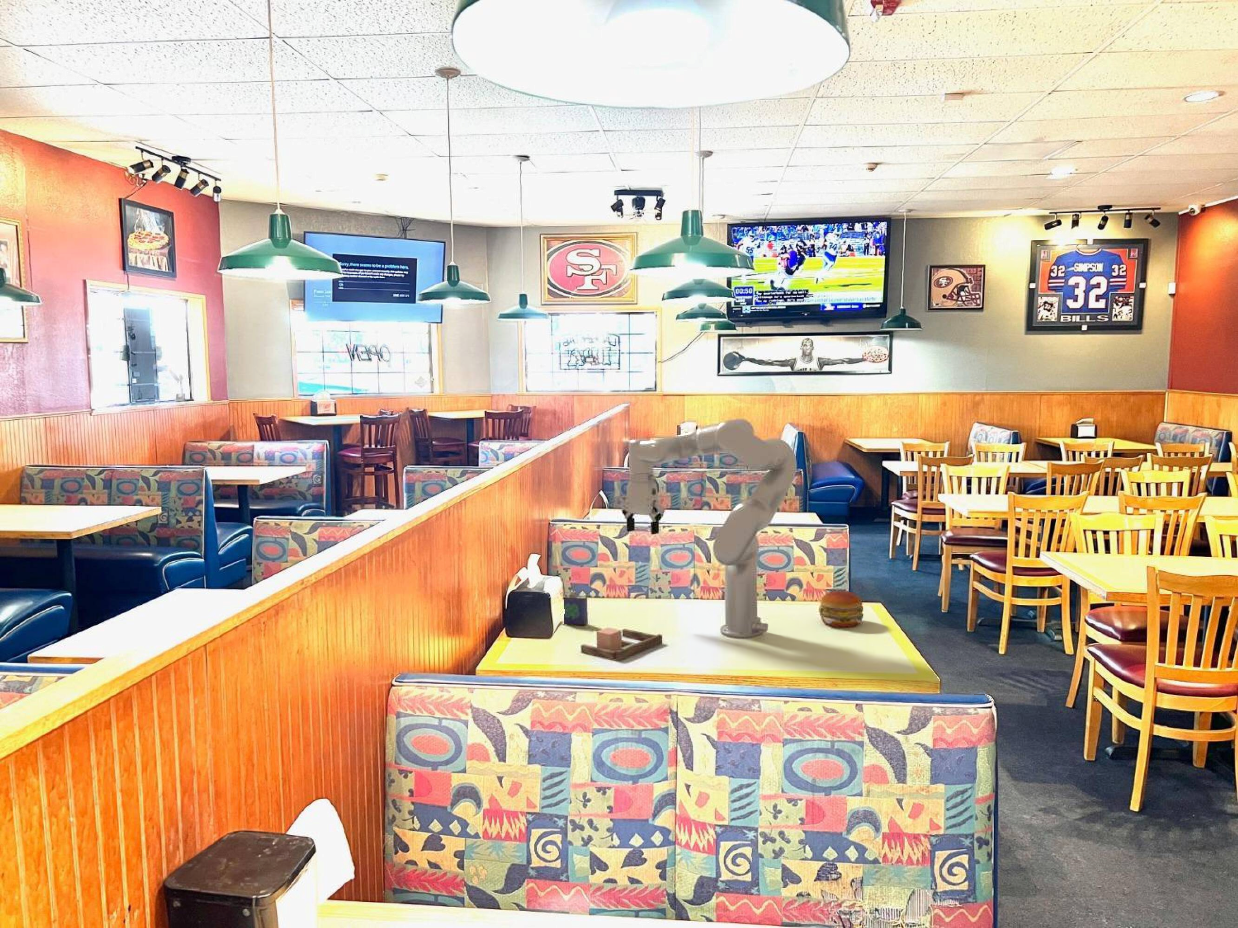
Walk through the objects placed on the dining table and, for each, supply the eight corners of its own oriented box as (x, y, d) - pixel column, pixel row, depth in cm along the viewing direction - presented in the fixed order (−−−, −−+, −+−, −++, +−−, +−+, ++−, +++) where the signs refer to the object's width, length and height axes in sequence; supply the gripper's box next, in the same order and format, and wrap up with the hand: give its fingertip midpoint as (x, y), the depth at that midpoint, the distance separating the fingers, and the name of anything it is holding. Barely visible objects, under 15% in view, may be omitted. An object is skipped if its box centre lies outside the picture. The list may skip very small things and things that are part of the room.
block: (621, 650, 251) (621, 630, 251) (610, 655, 247) (609, 634, 247) (608, 647, 254) (607, 627, 254) (597, 652, 251) (596, 631, 250)
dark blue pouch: (589, 624, 279) (588, 590, 278) (585, 626, 276) (584, 593, 275) (562, 621, 282) (561, 589, 281) (558, 624, 280) (557, 591, 279)
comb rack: (662, 643, 257) (662, 633, 257) (619, 661, 242) (618, 650, 242) (625, 635, 266) (624, 625, 265) (581, 652, 251) (580, 642, 251)
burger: (846, 632, 262) (846, 599, 261) (809, 623, 272) (809, 591, 271) (872, 623, 271) (872, 591, 270) (835, 614, 281) (835, 584, 280)
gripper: (670, 478, 274) (672, 533, 276) (627, 475, 285) (629, 528, 287) (656, 481, 268) (657, 536, 270) (612, 478, 279) (614, 531, 281)
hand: (642, 532), depth 278 cm, fingers open, 9 cm apart
